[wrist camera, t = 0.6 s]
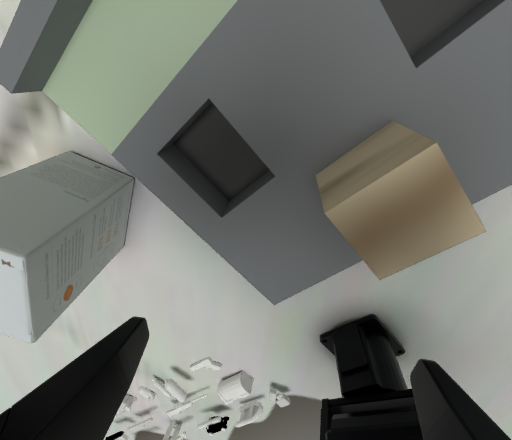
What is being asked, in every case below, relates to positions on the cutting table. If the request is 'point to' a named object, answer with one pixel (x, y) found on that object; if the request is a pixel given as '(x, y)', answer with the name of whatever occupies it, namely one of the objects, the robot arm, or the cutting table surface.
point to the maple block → (397, 200)
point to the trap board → (270, 105)
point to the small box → (56, 237)
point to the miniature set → (227, 391)
